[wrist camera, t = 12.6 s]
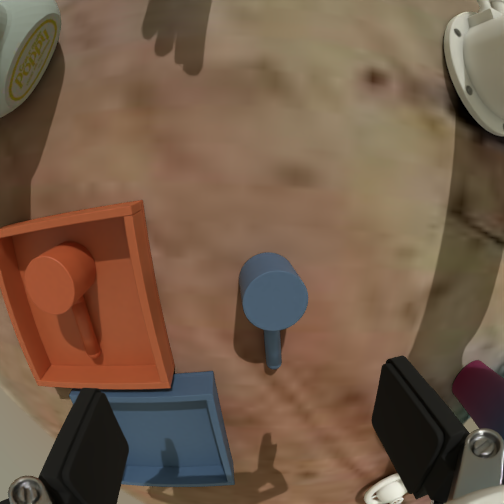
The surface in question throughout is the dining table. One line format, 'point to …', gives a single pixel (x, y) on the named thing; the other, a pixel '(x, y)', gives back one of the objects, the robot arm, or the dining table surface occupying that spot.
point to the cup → (481, 395)
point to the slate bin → (173, 433)
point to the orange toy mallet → (65, 286)
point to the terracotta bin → (91, 302)
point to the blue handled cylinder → (272, 299)
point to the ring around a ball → (386, 491)
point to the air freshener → (25, 47)
